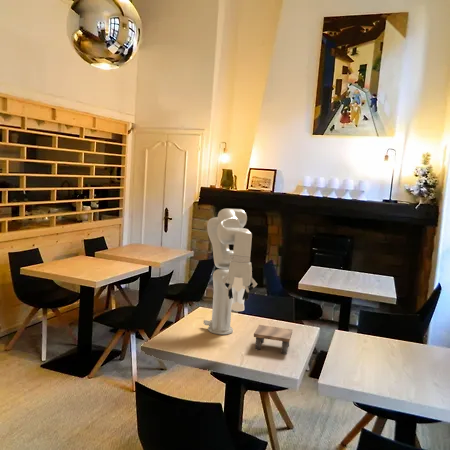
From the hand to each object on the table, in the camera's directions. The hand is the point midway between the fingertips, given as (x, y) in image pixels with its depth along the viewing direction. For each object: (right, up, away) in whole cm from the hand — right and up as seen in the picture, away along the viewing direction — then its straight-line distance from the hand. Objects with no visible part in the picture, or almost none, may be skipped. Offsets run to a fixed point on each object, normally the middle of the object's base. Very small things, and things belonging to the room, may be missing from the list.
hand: (238, 298), depth 192 cm
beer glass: (0, -5, +1) cm, 5 cm away
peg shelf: (+16, -24, +11) cm, 31 cm away
